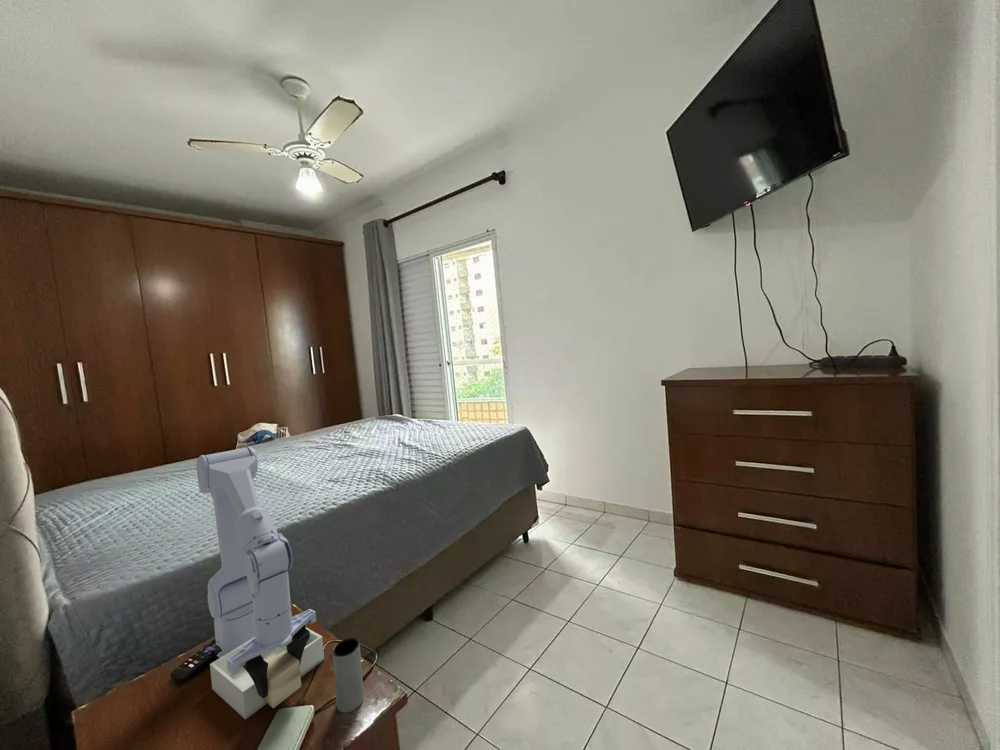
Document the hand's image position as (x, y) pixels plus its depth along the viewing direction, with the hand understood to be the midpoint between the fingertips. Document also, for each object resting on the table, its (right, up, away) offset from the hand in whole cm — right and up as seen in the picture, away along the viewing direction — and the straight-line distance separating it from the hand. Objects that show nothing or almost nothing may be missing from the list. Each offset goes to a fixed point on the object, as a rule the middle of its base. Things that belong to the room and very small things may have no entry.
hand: (279, 682), depth 70 cm
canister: (-3, -3, +10) cm, 11 cm away
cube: (0, -2, 0) cm, 2 cm away
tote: (-6, -4, +7) cm, 10 cm away
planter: (+13, -3, 0) cm, 14 cm away
